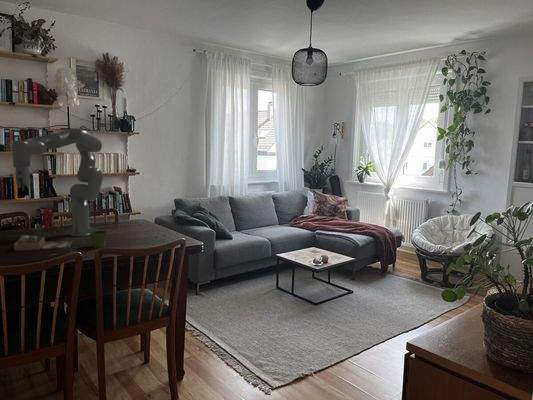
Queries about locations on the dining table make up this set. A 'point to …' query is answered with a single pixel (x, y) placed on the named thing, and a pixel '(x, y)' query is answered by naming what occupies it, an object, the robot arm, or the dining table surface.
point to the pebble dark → (32, 239)
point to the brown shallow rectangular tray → (29, 245)
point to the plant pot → (98, 238)
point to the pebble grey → (24, 239)
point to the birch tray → (56, 245)
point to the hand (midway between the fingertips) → (23, 196)
